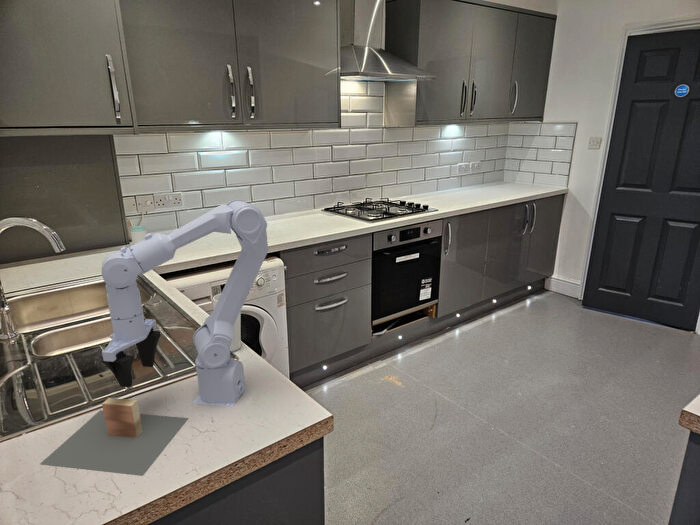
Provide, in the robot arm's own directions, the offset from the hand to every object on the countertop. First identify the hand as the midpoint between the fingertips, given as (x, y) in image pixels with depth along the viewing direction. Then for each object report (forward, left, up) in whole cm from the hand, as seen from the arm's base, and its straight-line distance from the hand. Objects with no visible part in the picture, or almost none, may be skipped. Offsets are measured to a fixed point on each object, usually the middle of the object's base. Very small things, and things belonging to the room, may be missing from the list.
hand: (137, 375), depth 92 cm
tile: (0, +6, -9) cm, 11 cm away
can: (+78, -121, -10) cm, 144 cm away
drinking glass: (-6, -31, -10) cm, 33 cm away
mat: (0, +8, -9) cm, 13 cm away
